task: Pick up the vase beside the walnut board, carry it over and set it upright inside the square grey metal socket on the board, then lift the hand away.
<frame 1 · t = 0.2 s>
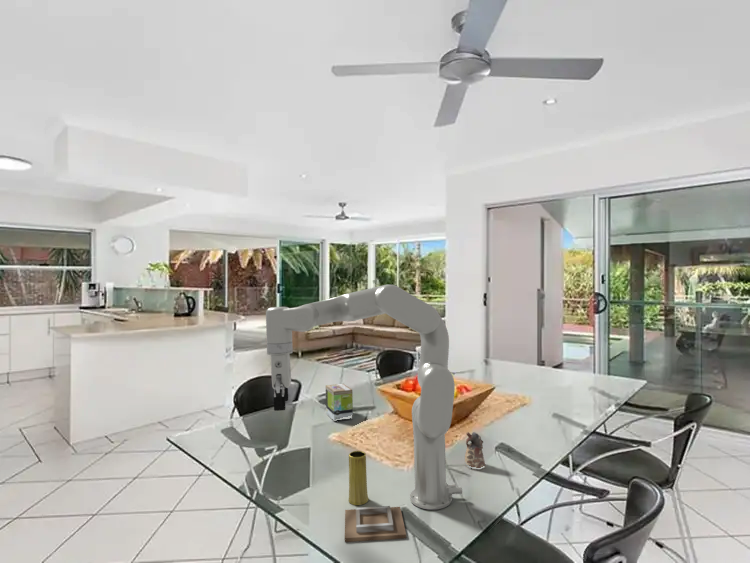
hand: (281, 405, 131), 31 cm above the table, tool pointing down, fingers open, 9 cm apart
figurine: (475, 466, 157), on the table
socket board: (374, 525, 121), on the table
tea box: (339, 417, 218), on the table
vase: (358, 501, 135), on the table
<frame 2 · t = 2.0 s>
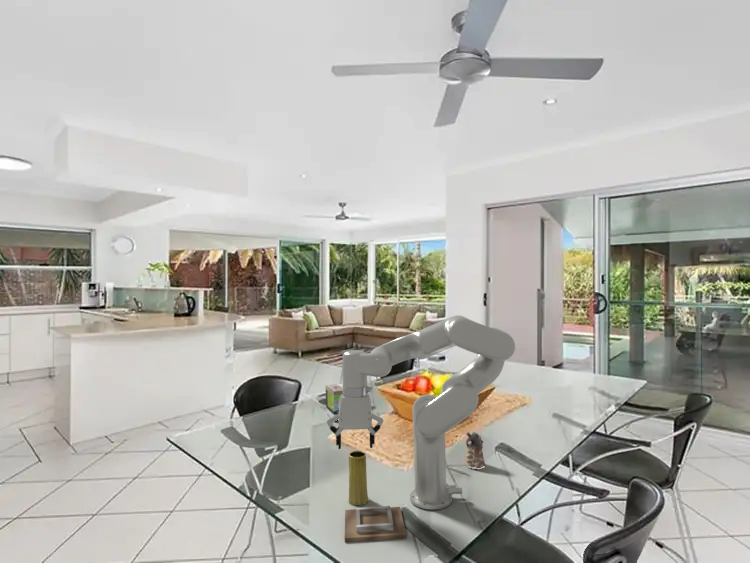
hand: (355, 446, 135), 16 cm above the table, tool pointing down, fingers open, 9 cm apart
nothing on the table moved.
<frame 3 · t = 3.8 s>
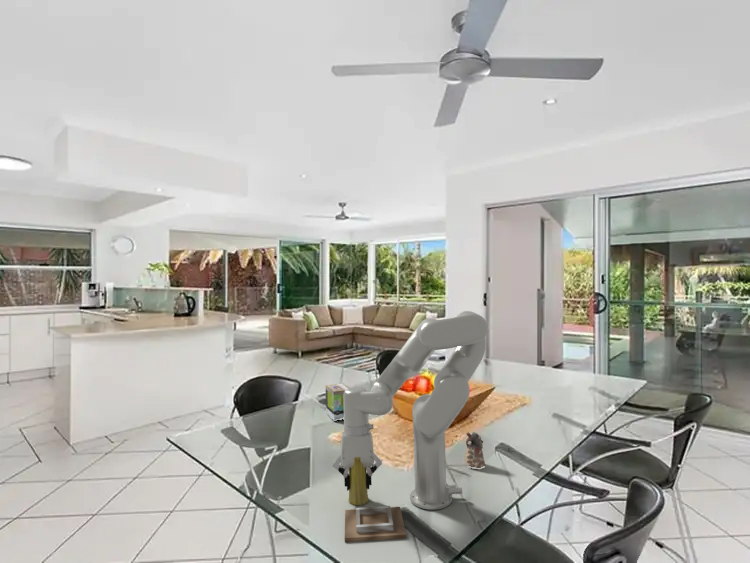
hand: (358, 487, 135), 4 cm above the table, tool pointing down, fingers closed on vase, 5 cm apart
vase: (358, 501, 135), on the table, touching gripper
everything else where it was.
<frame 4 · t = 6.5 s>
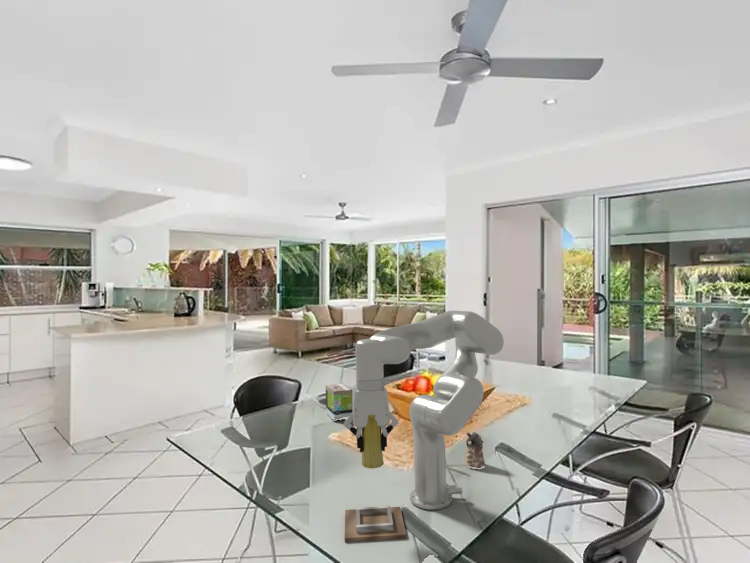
hand: (372, 449, 121), 21 cm above the table, tool pointing down, fingers closed on vase, 5 cm apart
vase: (372, 464, 121), point 17 cm above the table, touching gripper
everything else where it was.
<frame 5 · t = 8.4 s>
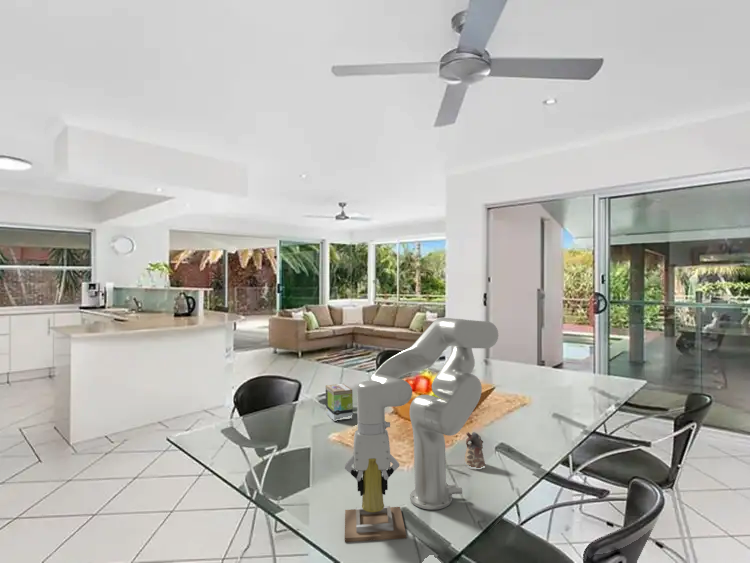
hand: (372, 492, 121), 9 cm above the table, tool pointing down, fingers closed on vase, 5 cm apart
vase: (373, 507, 121), point 5 cm above the table, touching gripper
everything else where it was.
when the fingers open (6 cm above the table, at t = 9.6 s): vase stays where it is, resting on socket board.
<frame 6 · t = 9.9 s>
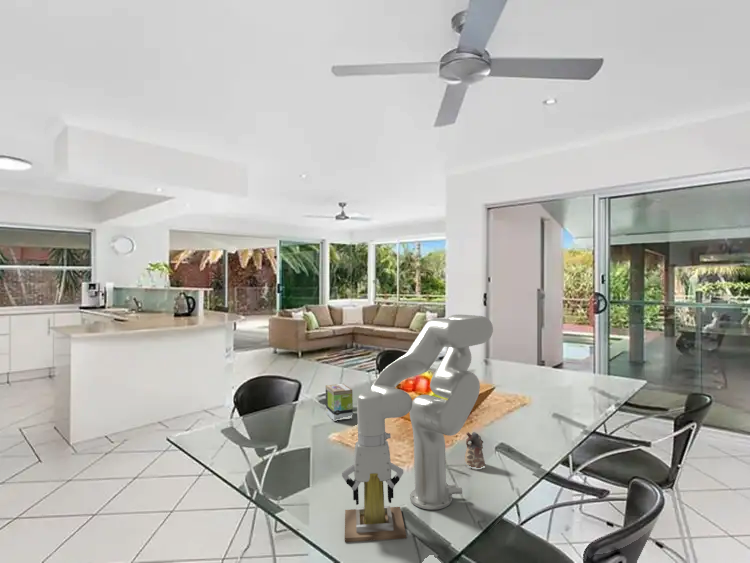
hand: (373, 501, 121), 7 cm above the table, tool pointing down, fingers open, 8 cm apart
vase: (374, 521, 121), point 1 cm above the table, touching socket board
everything else where it was.
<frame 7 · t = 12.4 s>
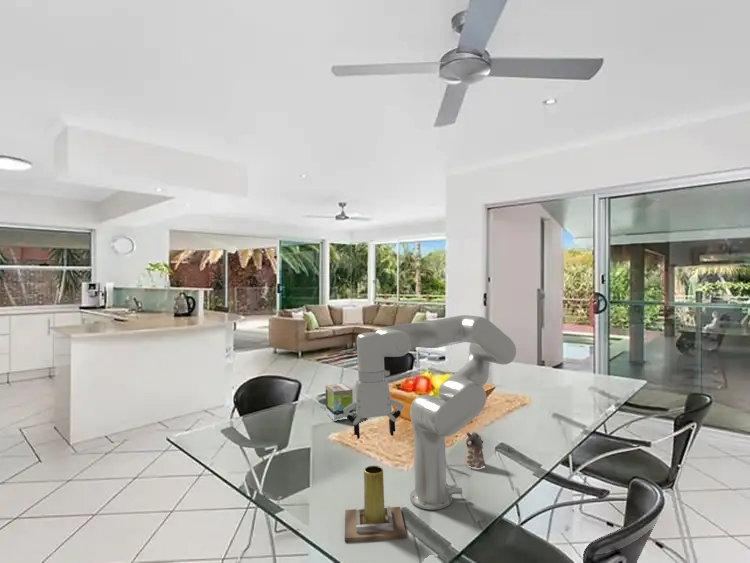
hand: (374, 435, 126), 23 cm above the table, tool pointing down, fingers open, 9 cm apart
nothing on the table moved.
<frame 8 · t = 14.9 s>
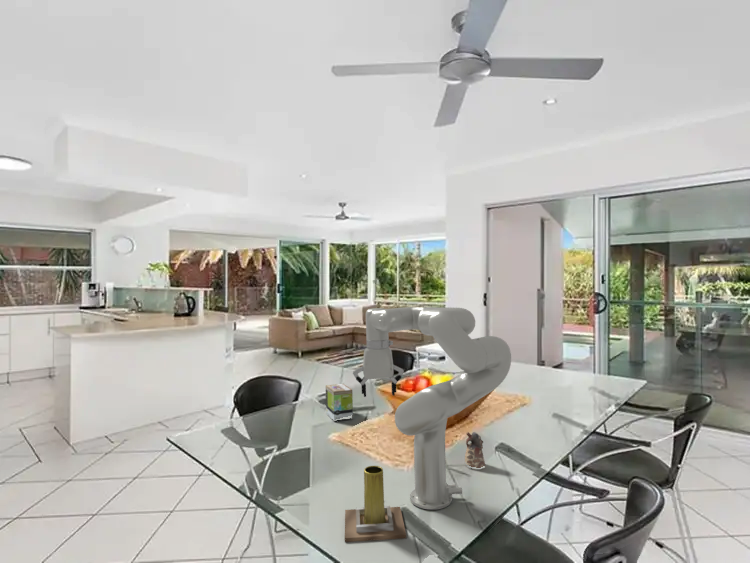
hand: (379, 395, 149), 28 cm above the table, tool pointing down, fingers open, 9 cm apart
nothing on the table moved.
at the end: vase 0.2 cm off-centre on the socket board, point 0.8 cm above the socket board's base; vase tilted 0°; the gripper is holding nothing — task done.
